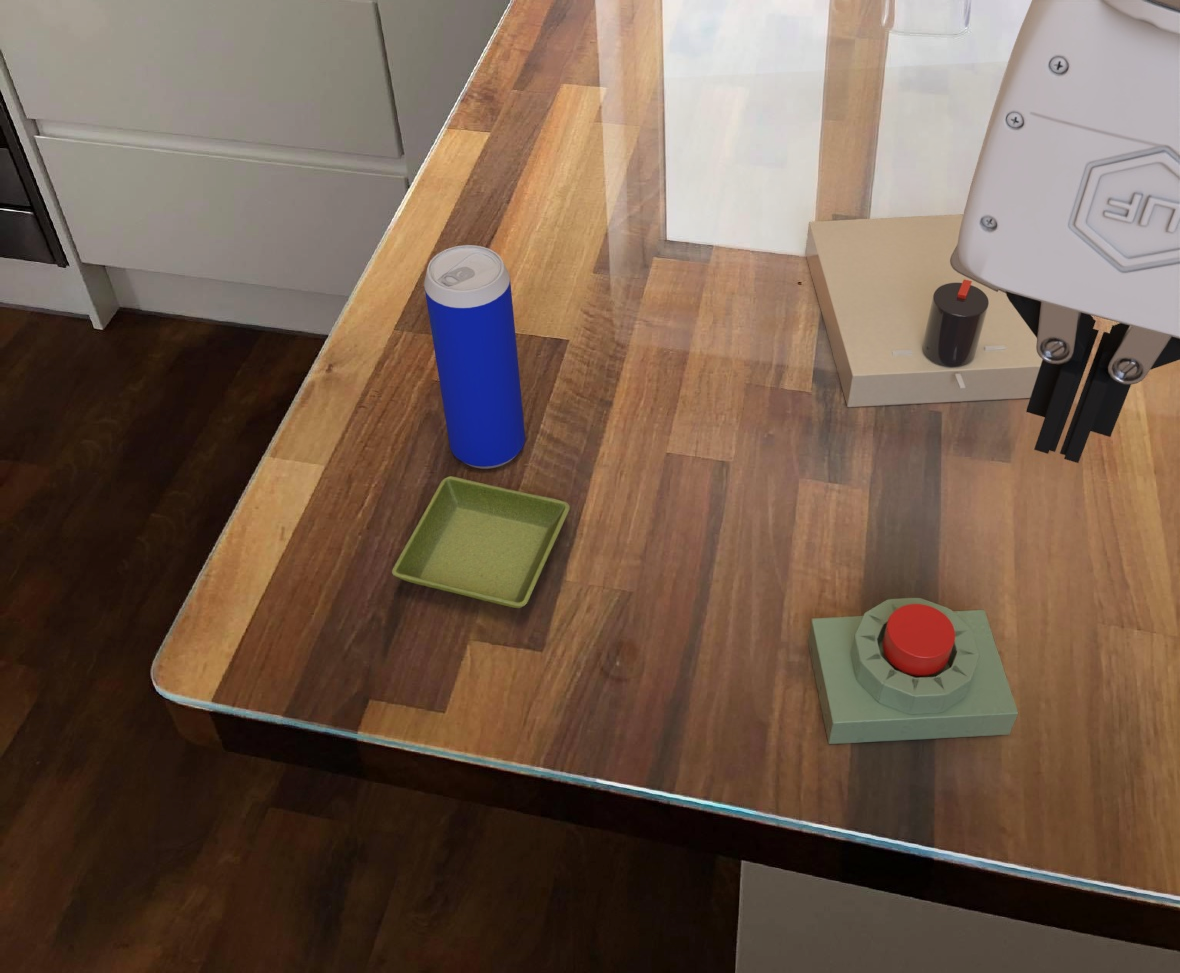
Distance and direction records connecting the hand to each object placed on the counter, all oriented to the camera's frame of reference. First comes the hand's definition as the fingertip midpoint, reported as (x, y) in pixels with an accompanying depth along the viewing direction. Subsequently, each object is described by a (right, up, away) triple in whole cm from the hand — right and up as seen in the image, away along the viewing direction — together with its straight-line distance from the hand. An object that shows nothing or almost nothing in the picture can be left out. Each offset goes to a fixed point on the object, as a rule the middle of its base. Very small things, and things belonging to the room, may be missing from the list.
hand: (1065, 431), depth 45 cm
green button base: (0, -13, +25) cm, 28 cm away
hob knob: (+7, +7, +39) cm, 41 cm away
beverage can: (-24, +1, +39) cm, 46 cm away
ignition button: (0, -11, +22) cm, 25 cm away
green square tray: (-24, -7, +32) cm, 41 cm away
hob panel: (+7, +10, +46) cm, 48 cm away
